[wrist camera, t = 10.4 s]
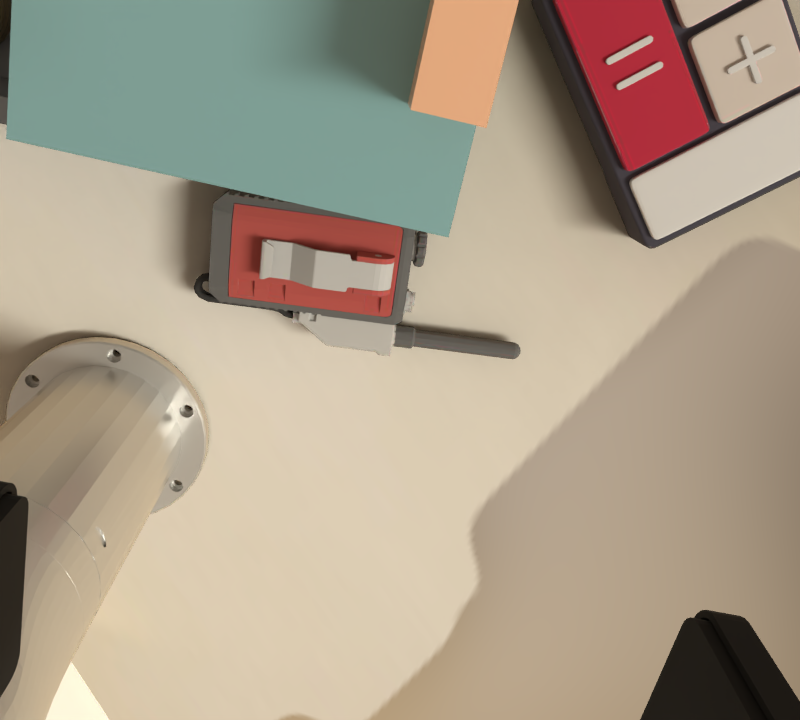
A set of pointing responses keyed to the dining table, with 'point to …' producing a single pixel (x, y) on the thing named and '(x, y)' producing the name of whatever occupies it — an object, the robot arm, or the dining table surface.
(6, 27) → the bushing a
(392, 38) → the lid
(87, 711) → the milk
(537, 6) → the calculator
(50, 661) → the robot arm
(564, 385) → the dining table surface
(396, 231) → the walkie-talkie
